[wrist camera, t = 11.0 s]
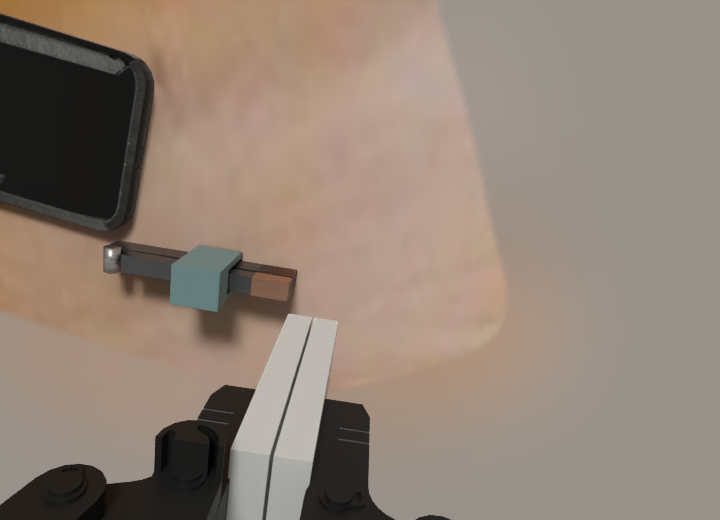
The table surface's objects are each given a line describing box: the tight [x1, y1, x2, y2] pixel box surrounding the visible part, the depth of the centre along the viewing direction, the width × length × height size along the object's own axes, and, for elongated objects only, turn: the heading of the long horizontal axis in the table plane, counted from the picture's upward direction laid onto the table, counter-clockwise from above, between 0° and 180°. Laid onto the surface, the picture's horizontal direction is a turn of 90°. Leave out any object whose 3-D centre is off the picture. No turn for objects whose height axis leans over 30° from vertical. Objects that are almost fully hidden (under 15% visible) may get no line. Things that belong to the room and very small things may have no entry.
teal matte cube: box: [170, 245, 242, 312], centre depth 22 cm, size 2×2×3 cm
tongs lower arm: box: [110, 241, 297, 293], centre depth 23 cm, size 8×1×1 cm, turn 81°
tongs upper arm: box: [103, 245, 292, 302], centre depth 22 cm, size 8×1×1 cm, turn 81°
